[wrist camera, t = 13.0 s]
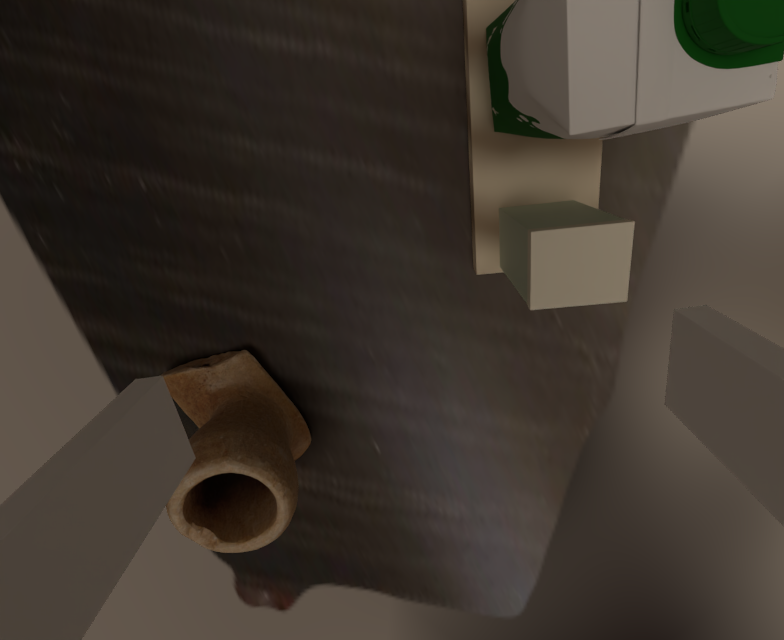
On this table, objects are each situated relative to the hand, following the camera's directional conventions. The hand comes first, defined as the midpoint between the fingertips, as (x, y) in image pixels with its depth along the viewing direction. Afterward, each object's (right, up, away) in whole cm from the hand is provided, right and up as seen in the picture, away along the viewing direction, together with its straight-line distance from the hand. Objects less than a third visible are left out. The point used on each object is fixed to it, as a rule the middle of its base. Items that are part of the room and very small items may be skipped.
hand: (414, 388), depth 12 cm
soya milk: (+10, +20, +21) cm, 31 cm away
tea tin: (+11, +9, +25) cm, 29 cm away
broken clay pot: (-15, -6, +35) cm, 39 cm away
